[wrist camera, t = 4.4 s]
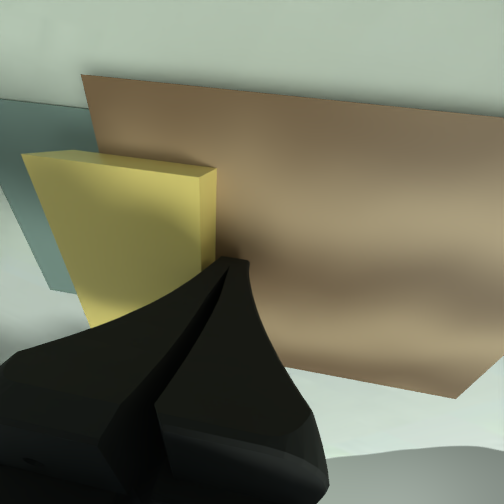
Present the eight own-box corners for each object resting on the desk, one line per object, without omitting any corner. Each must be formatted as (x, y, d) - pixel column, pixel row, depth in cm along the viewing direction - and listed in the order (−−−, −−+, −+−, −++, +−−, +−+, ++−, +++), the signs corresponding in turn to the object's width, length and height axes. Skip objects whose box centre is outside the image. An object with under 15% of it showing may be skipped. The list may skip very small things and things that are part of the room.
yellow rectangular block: (214, 326, 13) (203, 357, 11) (119, 310, 13) (94, 337, 11) (216, 168, 8) (198, 177, 7) (72, 149, 9) (20, 153, 7)
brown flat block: (419, 343, 16) (455, 399, 13) (170, 299, 18) (143, 339, 14) (573, 138, 10) (738, 141, 6) (145, 93, 11) (80, 74, 7)
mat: (171, 308, 18) (170, 310, 18) (53, 287, 19) (50, 289, 19) (148, 116, 11) (145, 115, 11) (-37, 95, 12) (-43, 94, 12)
